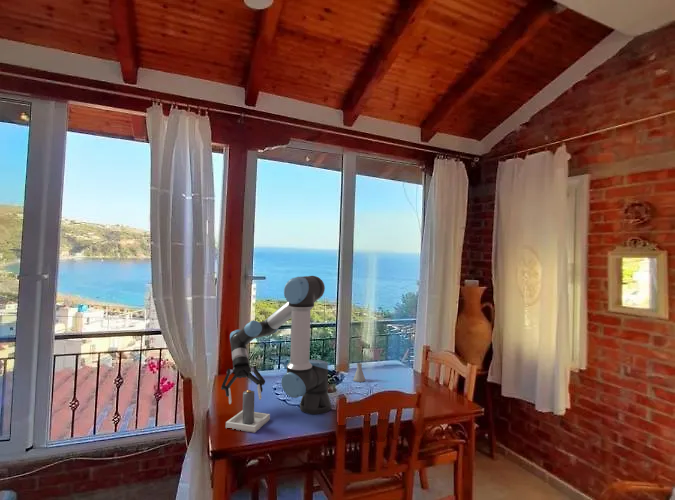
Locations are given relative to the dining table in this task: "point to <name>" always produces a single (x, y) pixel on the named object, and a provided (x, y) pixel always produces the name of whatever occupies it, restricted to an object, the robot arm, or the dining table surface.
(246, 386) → the dining table surface
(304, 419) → the dining table surface
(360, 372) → the flask
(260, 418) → the tray
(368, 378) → the dining table surface
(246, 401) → the charcoal cell
